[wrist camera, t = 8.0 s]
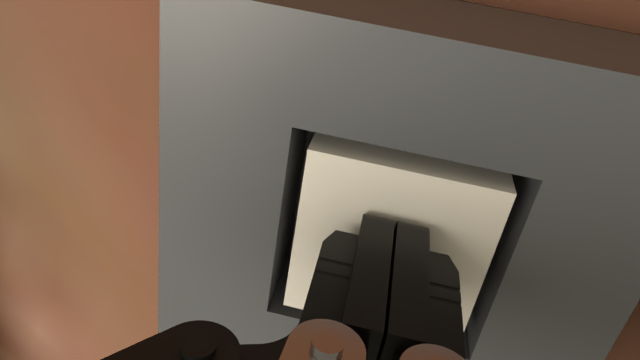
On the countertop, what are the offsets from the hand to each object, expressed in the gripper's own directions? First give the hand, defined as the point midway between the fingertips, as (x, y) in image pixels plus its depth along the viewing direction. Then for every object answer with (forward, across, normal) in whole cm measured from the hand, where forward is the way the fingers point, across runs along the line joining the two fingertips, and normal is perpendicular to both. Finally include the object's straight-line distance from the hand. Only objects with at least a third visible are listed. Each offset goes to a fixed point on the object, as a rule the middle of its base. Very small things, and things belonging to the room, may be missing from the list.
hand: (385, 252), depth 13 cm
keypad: (+4, 0, +7) cm, 8 cm away
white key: (+3, 0, 0) cm, 3 cm away
